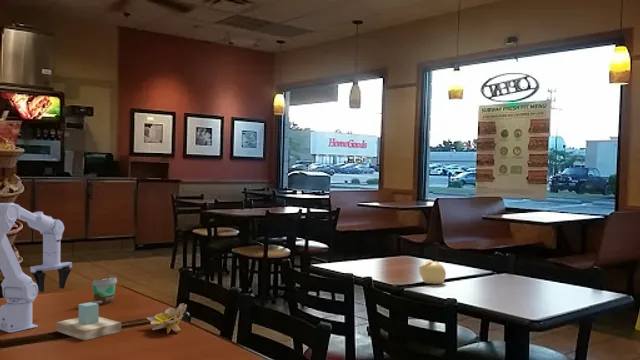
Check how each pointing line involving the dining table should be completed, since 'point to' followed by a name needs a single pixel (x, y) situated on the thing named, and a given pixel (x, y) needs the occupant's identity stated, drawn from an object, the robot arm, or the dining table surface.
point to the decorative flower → (168, 318)
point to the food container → (104, 290)
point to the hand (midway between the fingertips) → (51, 289)
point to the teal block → (88, 313)
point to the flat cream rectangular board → (88, 328)
